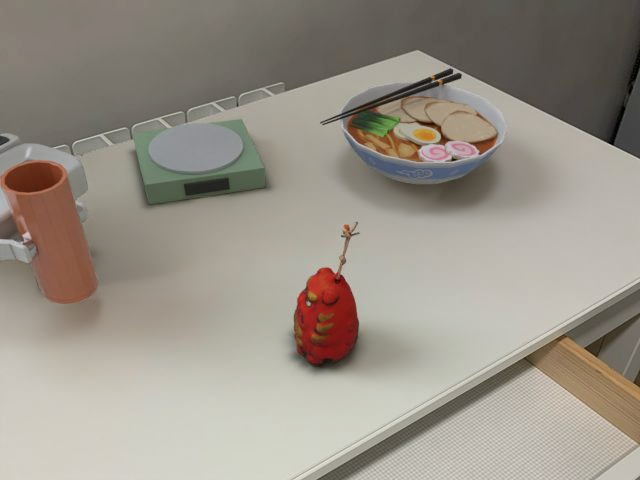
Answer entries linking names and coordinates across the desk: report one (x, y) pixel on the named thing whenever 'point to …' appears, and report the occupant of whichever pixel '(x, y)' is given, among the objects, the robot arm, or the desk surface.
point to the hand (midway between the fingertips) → (59, 233)
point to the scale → (198, 161)
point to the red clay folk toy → (327, 314)
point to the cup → (51, 229)
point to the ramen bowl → (422, 129)
